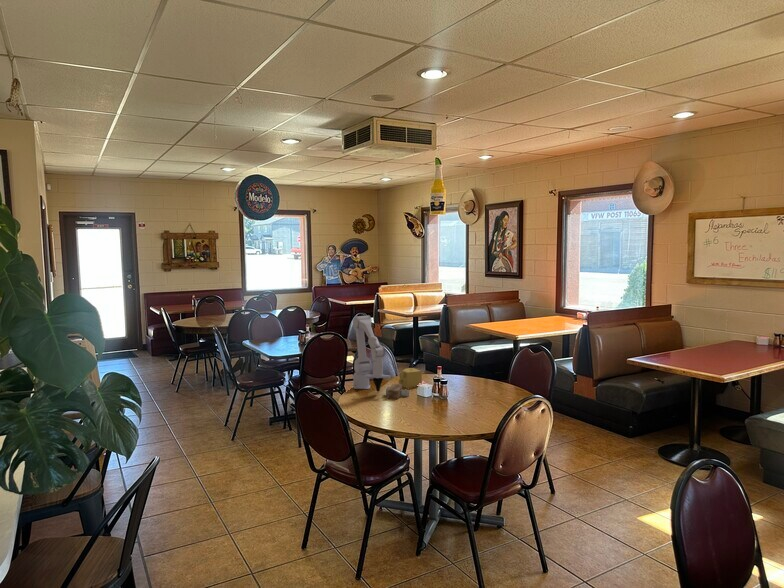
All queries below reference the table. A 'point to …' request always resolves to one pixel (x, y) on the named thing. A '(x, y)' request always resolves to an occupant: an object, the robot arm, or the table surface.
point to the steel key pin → (402, 392)
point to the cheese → (410, 377)
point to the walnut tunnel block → (394, 391)
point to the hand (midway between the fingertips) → (378, 390)
